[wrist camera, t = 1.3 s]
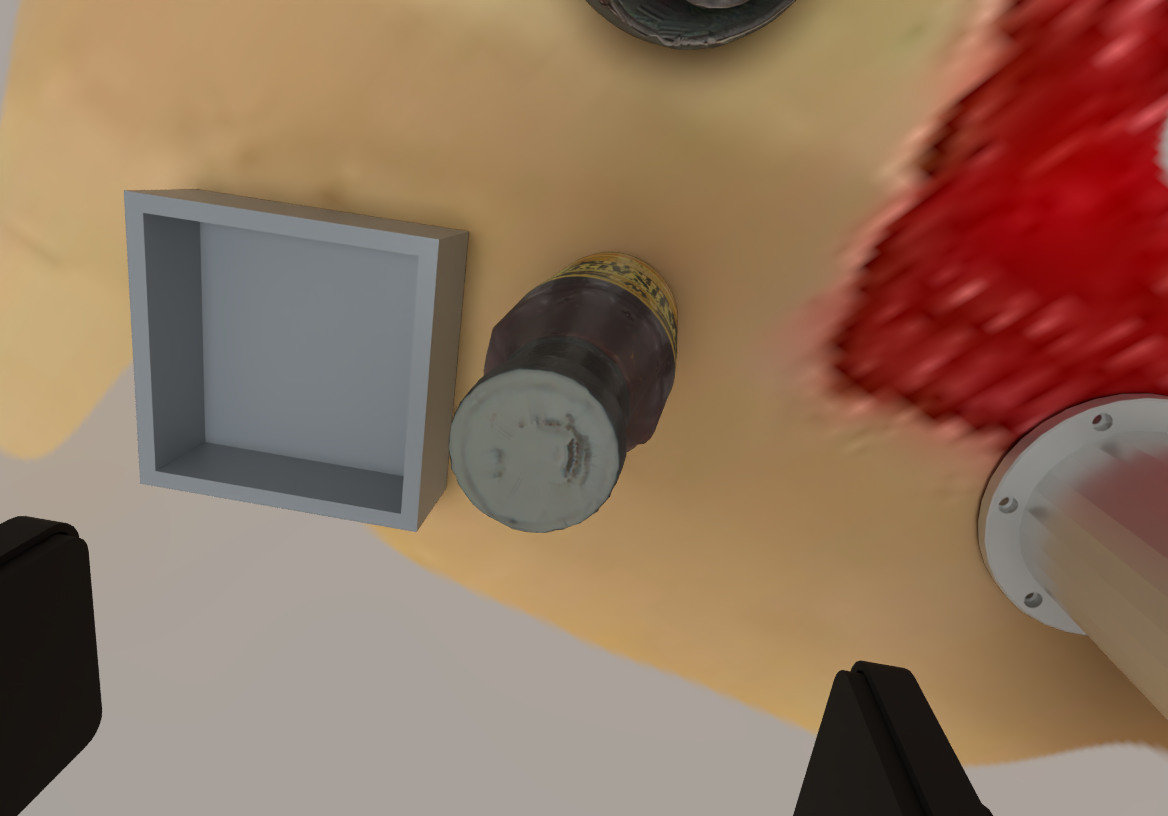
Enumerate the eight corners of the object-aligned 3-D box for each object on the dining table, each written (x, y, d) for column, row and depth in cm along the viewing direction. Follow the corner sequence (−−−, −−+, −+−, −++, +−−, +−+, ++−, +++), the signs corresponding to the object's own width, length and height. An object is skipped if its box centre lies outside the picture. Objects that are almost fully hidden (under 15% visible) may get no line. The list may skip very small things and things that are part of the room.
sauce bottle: (702, 298, 34) (758, 442, 16) (626, 400, 36) (593, 638, 17) (589, 217, 34) (505, 265, 15) (518, 325, 36) (363, 487, 17)
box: (468, 231, 34) (438, 239, 30) (445, 489, 39) (416, 532, 34) (195, 189, 35) (123, 190, 30) (202, 447, 39) (140, 483, 35)
